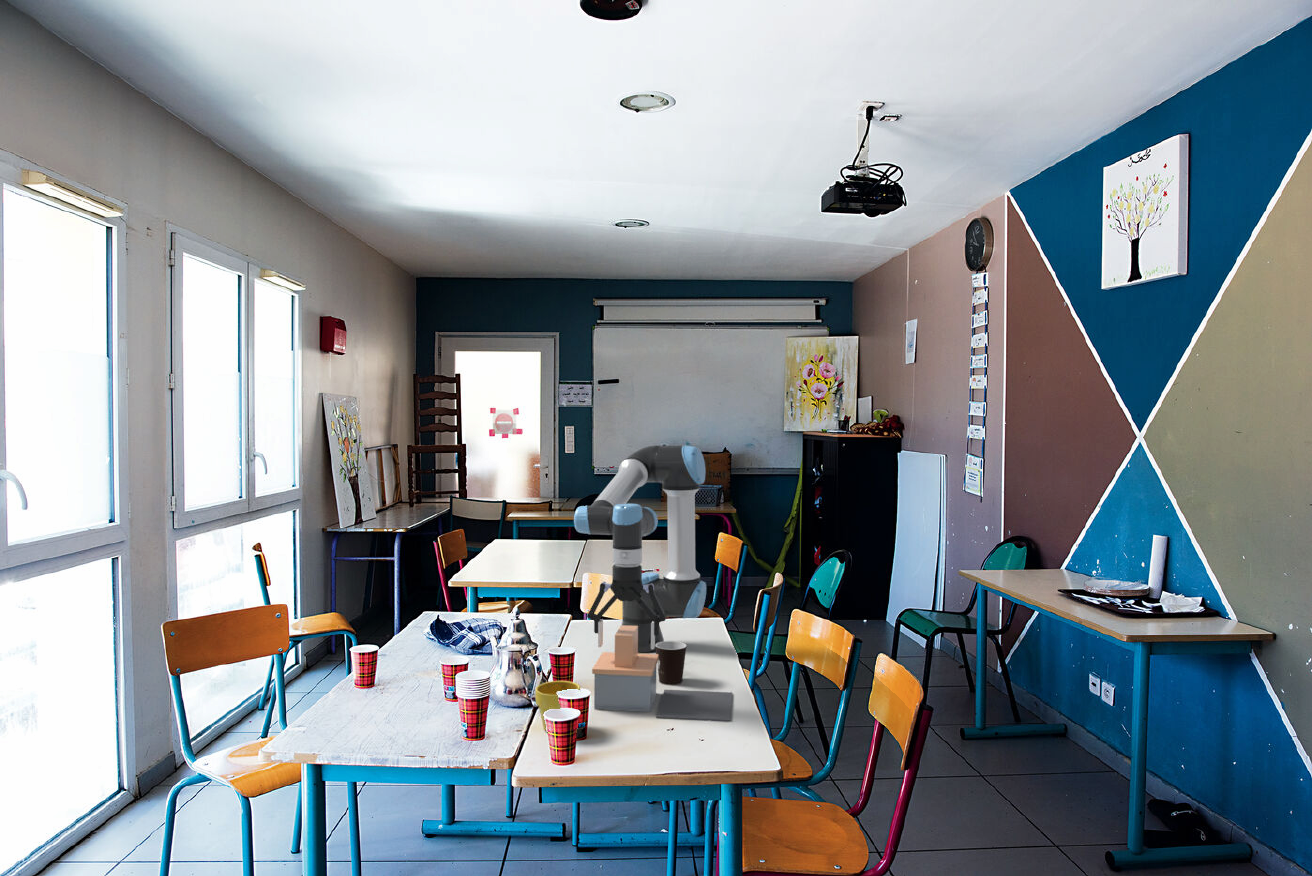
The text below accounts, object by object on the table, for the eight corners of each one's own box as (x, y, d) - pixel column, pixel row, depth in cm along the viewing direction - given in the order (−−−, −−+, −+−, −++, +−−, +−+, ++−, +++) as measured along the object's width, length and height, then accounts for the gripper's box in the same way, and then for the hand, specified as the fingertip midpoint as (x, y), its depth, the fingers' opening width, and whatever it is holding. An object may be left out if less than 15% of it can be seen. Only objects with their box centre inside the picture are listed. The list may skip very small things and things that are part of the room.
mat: (664, 691, 214) (664, 689, 214) (732, 694, 213) (732, 692, 213) (656, 718, 195) (656, 716, 195) (730, 721, 193) (730, 719, 193)
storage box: (604, 690, 214) (604, 657, 214) (656, 693, 213) (656, 659, 213) (594, 709, 200) (594, 673, 200) (649, 711, 199) (650, 675, 199)
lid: (602, 662, 215) (603, 622, 215) (658, 664, 213) (658, 624, 213) (592, 679, 200) (592, 636, 200) (651, 682, 198) (652, 639, 198)
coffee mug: (683, 687, 218) (683, 650, 218) (652, 684, 219) (652, 648, 219) (690, 674, 229) (690, 639, 229) (660, 672, 231) (660, 637, 231)
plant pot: (530, 736, 182) (531, 694, 182) (540, 720, 193) (540, 679, 192) (575, 738, 182) (576, 695, 181) (583, 721, 192) (583, 680, 192)
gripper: (576, 565, 204) (575, 649, 204) (674, 568, 201) (673, 652, 201) (582, 560, 211) (581, 641, 211) (676, 563, 208) (676, 644, 209)
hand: (626, 647), depth 206 cm, fingers open, 13 cm apart
